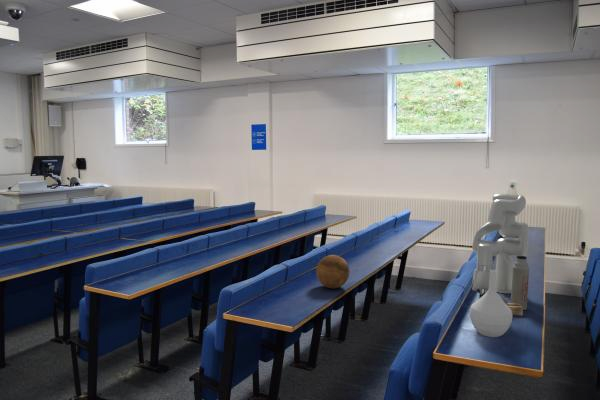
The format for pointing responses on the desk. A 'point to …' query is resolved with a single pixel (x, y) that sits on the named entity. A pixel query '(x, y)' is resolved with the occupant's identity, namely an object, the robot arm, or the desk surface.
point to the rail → (515, 308)
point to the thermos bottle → (520, 282)
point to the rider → (504, 300)
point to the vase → (491, 312)
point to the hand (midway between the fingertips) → (482, 301)
